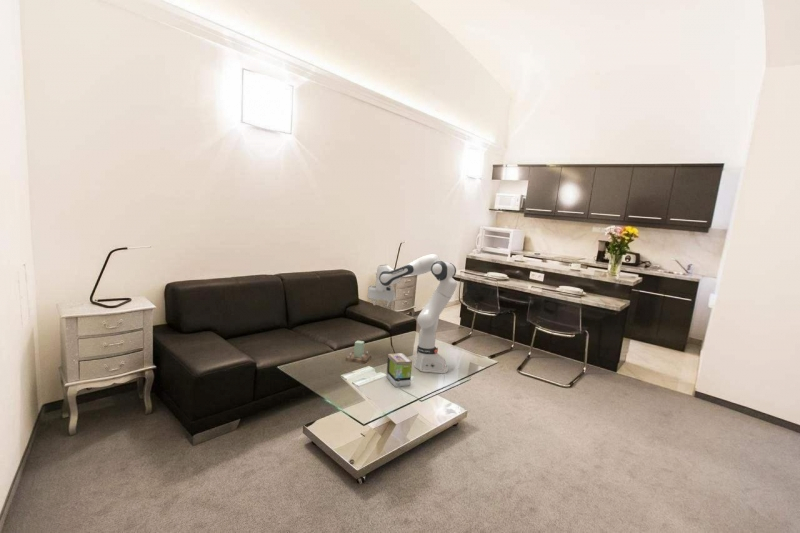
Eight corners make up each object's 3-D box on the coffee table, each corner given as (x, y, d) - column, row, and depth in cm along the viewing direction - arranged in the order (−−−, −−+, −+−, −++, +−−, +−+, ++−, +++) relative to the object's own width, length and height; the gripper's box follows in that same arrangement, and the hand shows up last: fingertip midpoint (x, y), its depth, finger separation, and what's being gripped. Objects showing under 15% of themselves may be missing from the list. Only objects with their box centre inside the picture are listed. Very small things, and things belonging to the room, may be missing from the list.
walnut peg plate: (371, 357, 251) (371, 350, 251) (364, 363, 240) (365, 356, 239) (352, 354, 255) (352, 347, 254) (345, 360, 243) (345, 353, 243)
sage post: (363, 355, 249) (364, 341, 248) (360, 357, 244) (361, 343, 243) (356, 354, 250) (357, 340, 249) (353, 356, 245) (354, 342, 244)
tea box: (410, 385, 210) (412, 360, 209) (394, 387, 206) (396, 362, 205) (401, 375, 224) (402, 352, 222) (385, 377, 220) (387, 353, 219)
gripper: (366, 286, 260) (365, 305, 261) (394, 289, 254) (392, 308, 256) (369, 285, 266) (368, 303, 267) (396, 287, 261) (395, 306, 262)
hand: (380, 305), depth 261 cm, fingers open, 8 cm apart
